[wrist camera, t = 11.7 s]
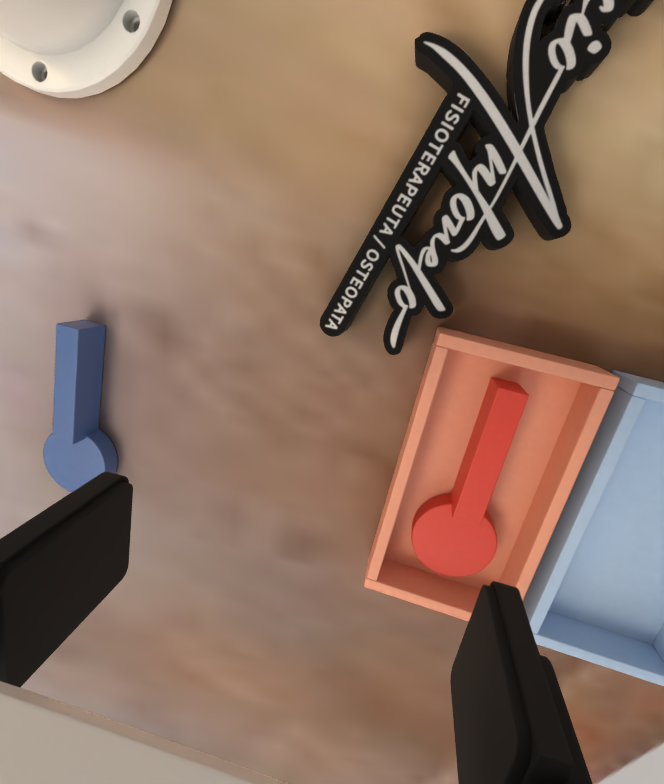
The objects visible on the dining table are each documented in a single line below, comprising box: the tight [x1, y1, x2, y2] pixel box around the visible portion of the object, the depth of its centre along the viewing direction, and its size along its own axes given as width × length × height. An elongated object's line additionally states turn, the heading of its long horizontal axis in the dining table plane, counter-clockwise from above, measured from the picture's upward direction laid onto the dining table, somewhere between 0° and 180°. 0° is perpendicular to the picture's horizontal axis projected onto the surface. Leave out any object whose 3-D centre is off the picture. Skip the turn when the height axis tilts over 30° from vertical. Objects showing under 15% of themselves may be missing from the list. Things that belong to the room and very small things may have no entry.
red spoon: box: [411, 377, 529, 577], centre depth 22 cm, size 11×4×2 cm, turn 167°
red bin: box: [364, 326, 620, 621], centre depth 22 cm, size 14×8×3 cm, turn 167°
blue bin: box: [523, 370, 664, 686], centre depth 21 cm, size 14×8×3 cm, turn 167°
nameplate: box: [320, 0, 653, 355], centre depth 18 cm, size 27×2×10 cm
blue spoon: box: [43, 320, 117, 492], centre depth 26 cm, size 11×4×2 cm, turn 167°
